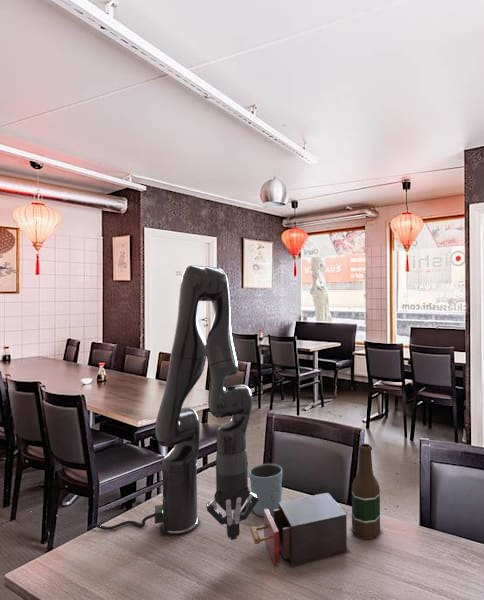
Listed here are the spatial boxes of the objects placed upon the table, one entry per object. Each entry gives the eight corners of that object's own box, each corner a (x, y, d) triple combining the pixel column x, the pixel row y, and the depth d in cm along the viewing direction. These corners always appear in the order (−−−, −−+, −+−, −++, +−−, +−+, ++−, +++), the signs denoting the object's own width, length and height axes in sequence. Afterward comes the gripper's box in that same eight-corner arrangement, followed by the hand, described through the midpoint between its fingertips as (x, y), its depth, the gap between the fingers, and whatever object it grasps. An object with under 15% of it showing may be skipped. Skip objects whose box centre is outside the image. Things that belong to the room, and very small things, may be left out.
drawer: (257, 568, 98) (256, 536, 98) (248, 541, 108) (247, 512, 108) (326, 551, 104) (326, 521, 104) (311, 527, 115) (311, 500, 115)
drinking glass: (280, 517, 122) (280, 477, 121) (246, 517, 122) (246, 477, 122) (284, 500, 132) (284, 463, 132) (252, 500, 132) (252, 463, 132)
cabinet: (292, 565, 100) (291, 526, 100) (278, 537, 112) (278, 502, 112) (346, 551, 105) (346, 514, 105) (328, 525, 117) (328, 492, 117)
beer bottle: (379, 541, 110) (378, 451, 109) (350, 537, 111) (349, 449, 111) (380, 524, 117) (380, 441, 117) (353, 522, 119) (353, 439, 119)
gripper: (255, 457, 107) (256, 524, 107) (202, 466, 102) (203, 535, 102) (261, 469, 100) (263, 540, 100) (205, 478, 95) (206, 553, 95)
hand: (233, 537), depth 101 cm, fingers closed
